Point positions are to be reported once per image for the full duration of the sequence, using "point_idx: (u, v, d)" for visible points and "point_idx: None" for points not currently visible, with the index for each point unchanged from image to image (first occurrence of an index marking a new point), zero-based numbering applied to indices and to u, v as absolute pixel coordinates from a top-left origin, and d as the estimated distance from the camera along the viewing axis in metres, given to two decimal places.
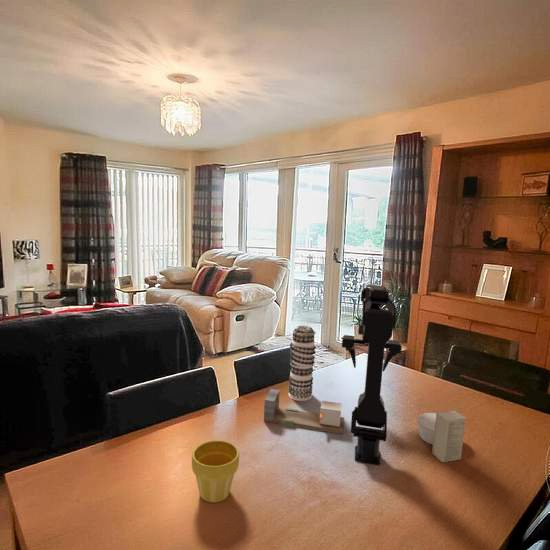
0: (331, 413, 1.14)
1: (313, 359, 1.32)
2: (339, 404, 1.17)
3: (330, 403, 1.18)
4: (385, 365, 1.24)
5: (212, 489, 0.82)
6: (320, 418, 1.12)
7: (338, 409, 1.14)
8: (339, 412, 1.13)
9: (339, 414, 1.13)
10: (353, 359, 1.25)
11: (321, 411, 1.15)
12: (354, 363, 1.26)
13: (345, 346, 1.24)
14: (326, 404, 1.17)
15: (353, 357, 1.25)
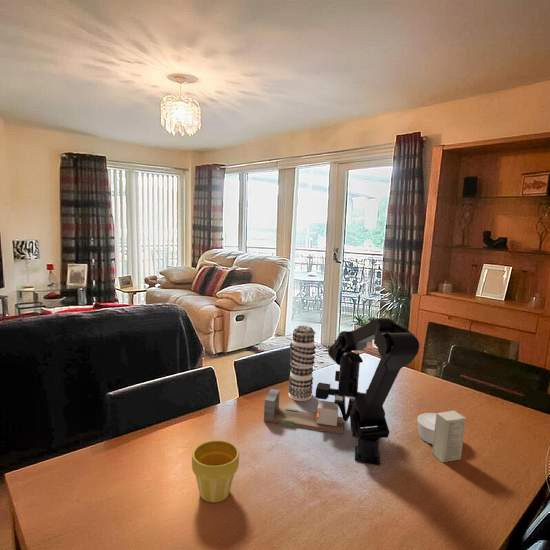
0: (328, 412, 1.14)
1: (313, 359, 1.32)
2: (336, 404, 1.17)
3: (327, 403, 1.18)
4: (347, 416, 1.14)
5: (212, 489, 0.82)
6: (317, 418, 1.12)
7: (335, 408, 1.14)
8: (336, 412, 1.14)
9: (336, 414, 1.14)
10: (343, 413, 1.14)
11: (318, 411, 1.15)
12: (344, 417, 1.15)
13: (319, 397, 1.14)
14: (323, 403, 1.17)
15: (343, 411, 1.14)
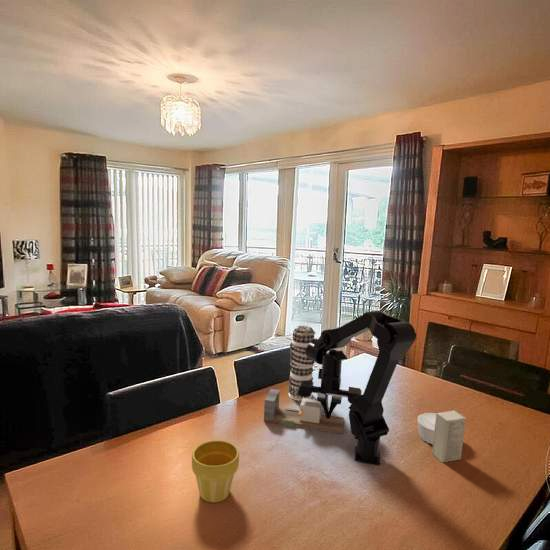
0: (311, 410, 1.15)
1: None
2: (319, 401, 1.19)
3: (310, 400, 1.19)
4: (330, 413, 1.15)
5: (212, 489, 0.82)
6: (299, 415, 1.13)
7: (317, 406, 1.15)
8: (318, 409, 1.15)
9: (318, 411, 1.15)
10: (325, 410, 1.15)
11: (301, 408, 1.16)
12: (326, 414, 1.16)
13: (301, 394, 1.15)
14: (306, 401, 1.18)
15: (325, 408, 1.15)
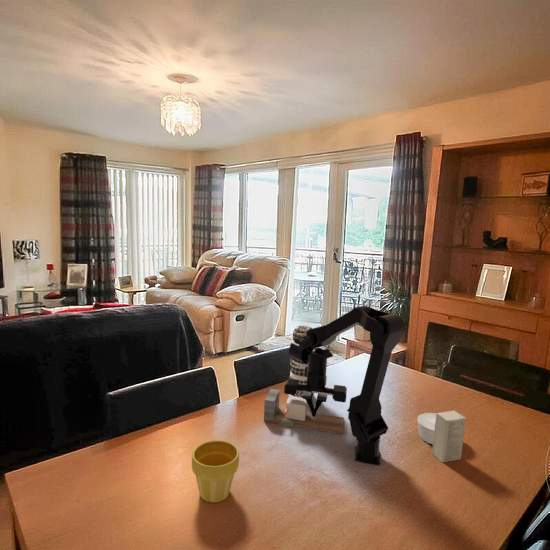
0: (296, 408, 1.16)
1: None
2: None
3: (296, 398, 1.20)
4: (315, 411, 1.16)
5: (212, 489, 0.82)
6: (285, 413, 1.14)
7: (303, 404, 1.16)
8: (304, 407, 1.16)
9: (304, 409, 1.16)
10: (311, 408, 1.16)
11: (287, 406, 1.17)
12: (312, 412, 1.17)
13: (287, 392, 1.16)
14: (293, 399, 1.19)
15: (310, 406, 1.16)
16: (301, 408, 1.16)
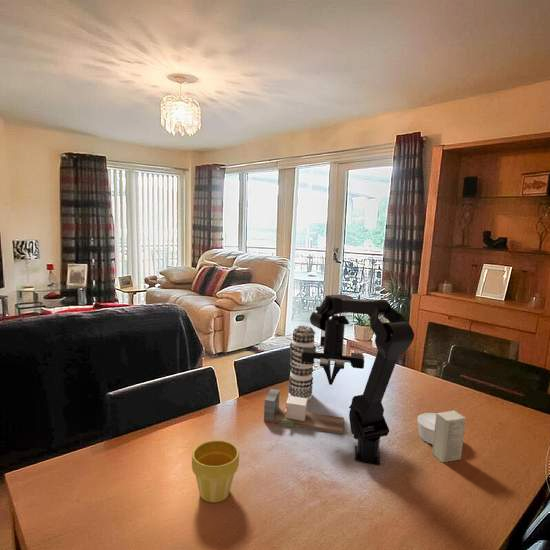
0: (296, 408, 1.16)
1: None
2: (305, 399, 1.20)
3: (296, 398, 1.20)
4: (332, 378, 1.16)
5: (212, 489, 0.82)
6: (284, 412, 1.14)
7: (303, 404, 1.16)
8: (304, 407, 1.16)
9: (304, 409, 1.16)
10: (328, 376, 1.16)
11: (286, 406, 1.17)
12: (329, 380, 1.16)
13: (304, 360, 1.15)
14: (292, 399, 1.19)
15: (328, 373, 1.15)
16: (301, 408, 1.16)
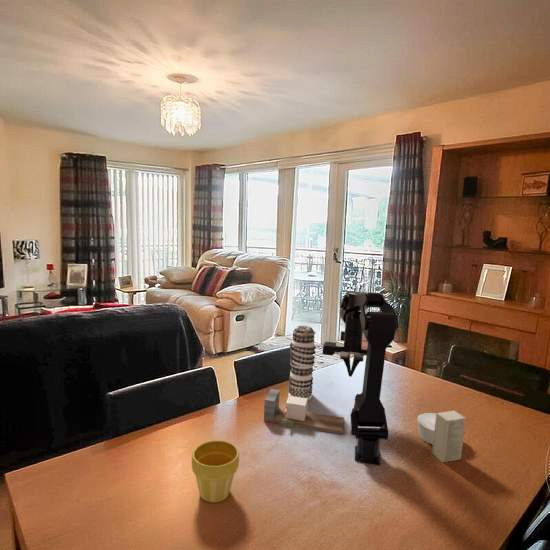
0: (296, 408, 1.16)
1: (313, 359, 1.32)
2: (305, 399, 1.20)
3: (296, 398, 1.20)
4: (352, 370, 1.23)
5: (212, 489, 0.82)
6: (284, 412, 1.14)
7: (303, 404, 1.16)
8: (304, 407, 1.16)
9: (304, 409, 1.16)
10: (348, 368, 1.23)
11: (286, 406, 1.17)
12: (349, 372, 1.24)
13: (326, 353, 1.23)
14: (292, 399, 1.19)
15: (348, 366, 1.23)
16: (301, 408, 1.16)
